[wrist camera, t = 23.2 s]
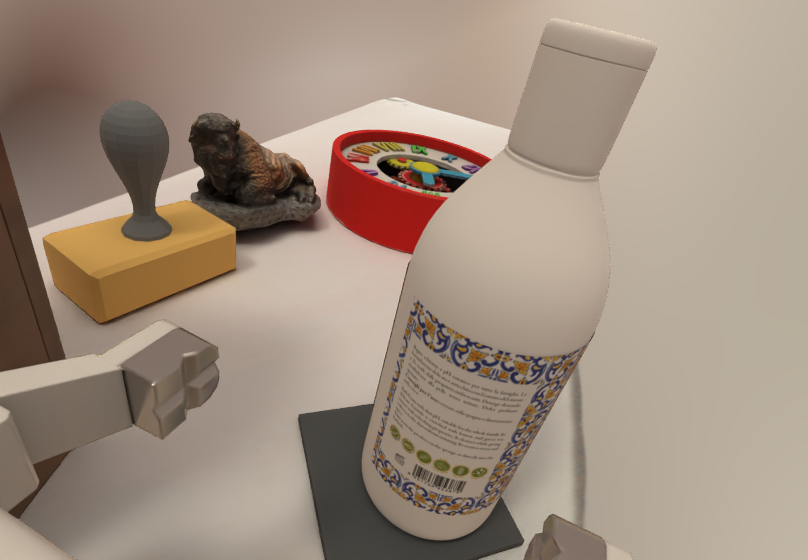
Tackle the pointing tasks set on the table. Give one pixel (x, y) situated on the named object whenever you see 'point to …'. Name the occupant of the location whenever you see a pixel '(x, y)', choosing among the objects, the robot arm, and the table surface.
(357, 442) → the pad
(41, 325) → the cabinet
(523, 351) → the bath foam
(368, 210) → the toy clock
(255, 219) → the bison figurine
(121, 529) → the table surface
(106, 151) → the rubber stamp
